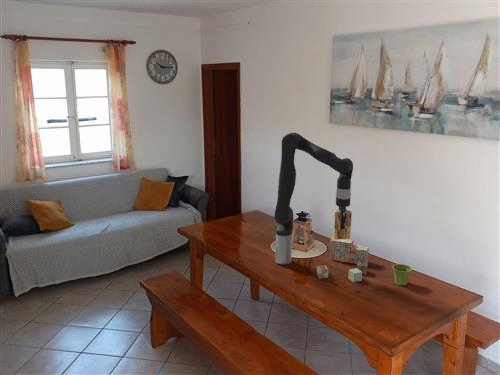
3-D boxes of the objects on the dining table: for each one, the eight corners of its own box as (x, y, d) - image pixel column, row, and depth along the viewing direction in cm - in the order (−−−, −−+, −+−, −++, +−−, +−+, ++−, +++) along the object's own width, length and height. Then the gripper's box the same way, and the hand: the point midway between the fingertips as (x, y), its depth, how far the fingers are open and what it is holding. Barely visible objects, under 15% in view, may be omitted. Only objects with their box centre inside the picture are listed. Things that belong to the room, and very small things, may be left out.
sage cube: (353, 282, 232) (354, 273, 231) (348, 278, 237) (348, 269, 236) (361, 280, 234) (362, 271, 233) (356, 276, 239) (356, 268, 237)
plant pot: (401, 288, 225) (402, 273, 222) (387, 281, 233) (388, 266, 231) (414, 284, 229) (415, 269, 227) (400, 277, 237) (401, 262, 235)
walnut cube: (356, 273, 242) (357, 265, 241) (357, 270, 247) (358, 261, 246) (366, 275, 241) (366, 266, 240) (366, 271, 245) (367, 262, 244)
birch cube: (318, 278, 237) (319, 269, 236) (316, 274, 242) (316, 265, 241) (328, 277, 238) (328, 269, 236) (325, 273, 242) (325, 265, 241)
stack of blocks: (368, 262, 258) (369, 242, 255) (365, 266, 252) (366, 245, 249) (332, 255, 267) (333, 236, 264) (329, 259, 262) (329, 239, 259)
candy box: (348, 236, 241) (349, 209, 238) (350, 239, 237) (351, 212, 233) (332, 237, 241) (333, 210, 237) (334, 239, 237) (335, 212, 233)
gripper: (334, 192, 241) (333, 222, 245) (337, 200, 227) (336, 231, 231) (348, 193, 240) (347, 223, 244) (352, 200, 226) (350, 232, 230)
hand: (341, 227), depth 237 cm, fingers closed on candy box, 4 cm apart
